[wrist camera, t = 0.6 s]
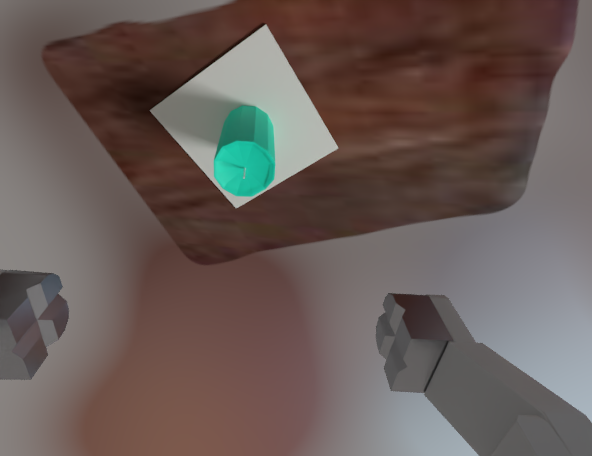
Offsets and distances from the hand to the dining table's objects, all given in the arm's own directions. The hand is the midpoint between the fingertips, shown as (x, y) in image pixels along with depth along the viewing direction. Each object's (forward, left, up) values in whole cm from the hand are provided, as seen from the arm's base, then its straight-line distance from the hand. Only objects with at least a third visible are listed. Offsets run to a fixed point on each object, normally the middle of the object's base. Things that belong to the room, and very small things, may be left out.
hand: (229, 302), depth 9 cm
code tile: (+7, -6, -35) cm, 36 cm away
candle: (+7, -6, -35) cm, 36 cm away
